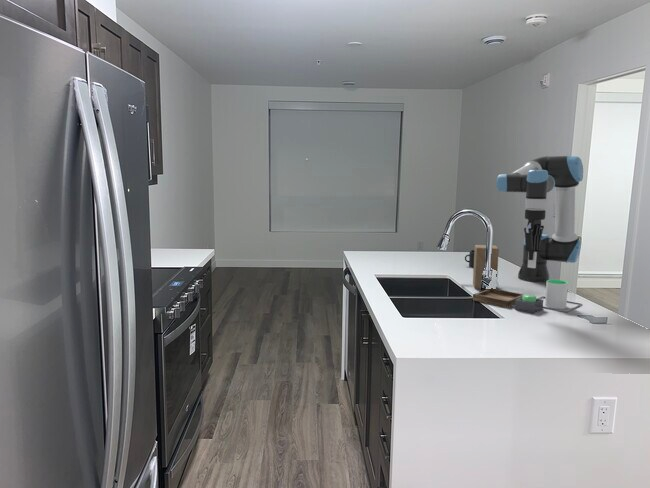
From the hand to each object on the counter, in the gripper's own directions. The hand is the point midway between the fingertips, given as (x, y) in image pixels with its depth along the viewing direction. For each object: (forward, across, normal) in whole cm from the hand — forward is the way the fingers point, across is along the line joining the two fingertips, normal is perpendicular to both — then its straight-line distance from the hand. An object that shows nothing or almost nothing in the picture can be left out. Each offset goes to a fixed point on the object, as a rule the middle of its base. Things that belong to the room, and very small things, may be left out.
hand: (531, 267), depth 199 cm
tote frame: (+18, -14, +4) cm, 23 cm away
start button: (+16, +1, 0) cm, 16 cm away
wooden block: (+18, -21, -32) cm, 42 cm away
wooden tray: (+18, -3, -15) cm, 23 cm away
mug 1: (+19, -64, -62) cm, 91 cm away
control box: (+17, +1, 0) cm, 17 cm away
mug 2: (+18, -14, +4) cm, 23 cm away
